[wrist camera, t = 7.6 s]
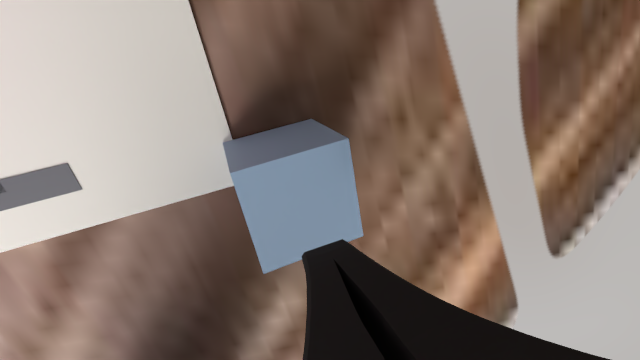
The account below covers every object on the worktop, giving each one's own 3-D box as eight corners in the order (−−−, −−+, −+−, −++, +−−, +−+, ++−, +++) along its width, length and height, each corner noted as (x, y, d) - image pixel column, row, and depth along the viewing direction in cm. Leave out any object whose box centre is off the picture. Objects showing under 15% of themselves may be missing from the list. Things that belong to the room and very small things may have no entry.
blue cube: (326, 196, 19) (363, 235, 15) (248, 222, 18) (263, 273, 14) (311, 118, 17) (348, 138, 13) (222, 142, 16) (229, 173, 12)
